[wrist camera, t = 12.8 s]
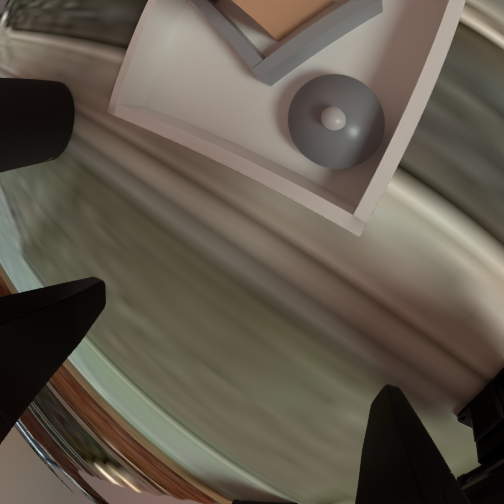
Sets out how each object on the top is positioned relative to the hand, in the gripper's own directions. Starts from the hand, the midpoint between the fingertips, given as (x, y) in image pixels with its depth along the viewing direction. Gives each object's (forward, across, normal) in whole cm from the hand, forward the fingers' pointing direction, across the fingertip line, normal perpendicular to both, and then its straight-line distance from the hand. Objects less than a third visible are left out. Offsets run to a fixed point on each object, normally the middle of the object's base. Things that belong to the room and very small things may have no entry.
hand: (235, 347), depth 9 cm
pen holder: (+17, +27, -2) cm, 32 cm away
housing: (+14, +4, -12) cm, 18 cm away
